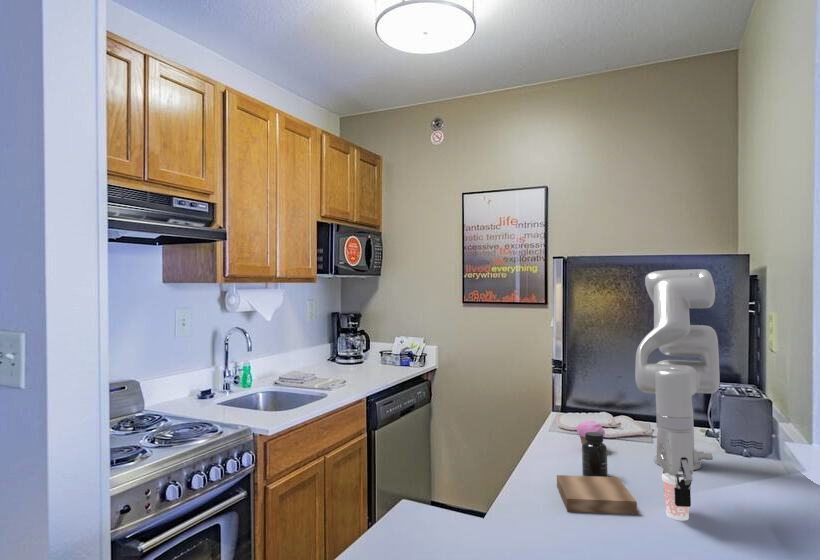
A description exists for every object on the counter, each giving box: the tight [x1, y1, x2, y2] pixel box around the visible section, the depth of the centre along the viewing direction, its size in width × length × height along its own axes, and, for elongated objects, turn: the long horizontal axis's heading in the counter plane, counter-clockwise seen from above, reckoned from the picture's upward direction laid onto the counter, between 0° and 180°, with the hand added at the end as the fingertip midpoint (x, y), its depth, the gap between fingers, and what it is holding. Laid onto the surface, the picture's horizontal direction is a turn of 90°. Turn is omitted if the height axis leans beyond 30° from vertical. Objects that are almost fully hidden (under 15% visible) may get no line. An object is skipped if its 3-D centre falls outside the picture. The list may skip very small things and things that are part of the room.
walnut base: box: [556, 474, 638, 515], centre depth 126 cm, size 16×16×3 cm
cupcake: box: [576, 420, 605, 445], centre depth 165 cm, size 9×9×10 cm
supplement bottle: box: [581, 432, 609, 477], centre depth 142 cm, size 7×7×12 cm
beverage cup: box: [661, 473, 690, 522], centre depth 116 cm, size 6×6×14 cm
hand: (677, 499), depth 115 cm, fingers closed on beverage cup, 6 cm apart
